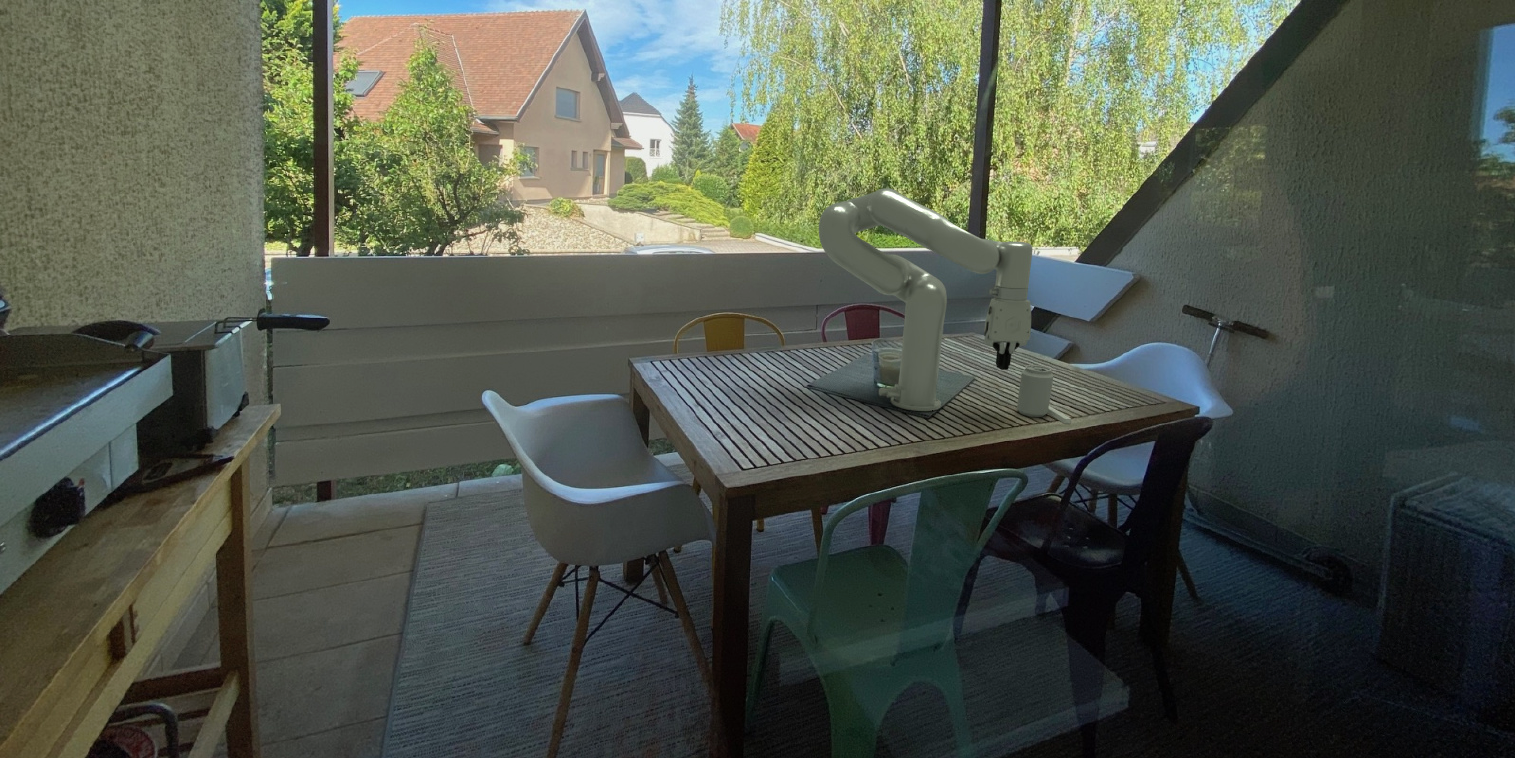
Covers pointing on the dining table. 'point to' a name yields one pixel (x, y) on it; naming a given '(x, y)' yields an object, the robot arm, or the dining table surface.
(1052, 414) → the stop strip
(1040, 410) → the can
